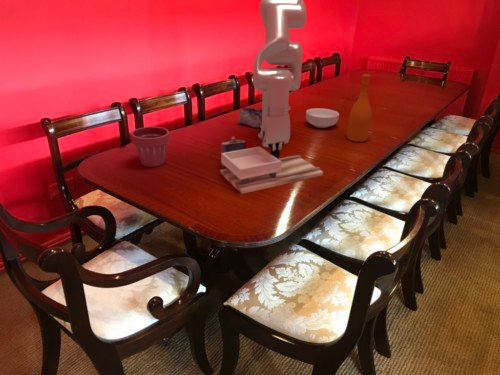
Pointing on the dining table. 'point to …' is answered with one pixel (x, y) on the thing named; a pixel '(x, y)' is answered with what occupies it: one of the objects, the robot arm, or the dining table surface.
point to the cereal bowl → (322, 117)
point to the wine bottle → (360, 114)
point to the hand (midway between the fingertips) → (274, 159)
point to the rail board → (290, 172)
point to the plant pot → (151, 145)
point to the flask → (233, 146)
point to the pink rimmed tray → (251, 163)
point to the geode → (251, 117)
